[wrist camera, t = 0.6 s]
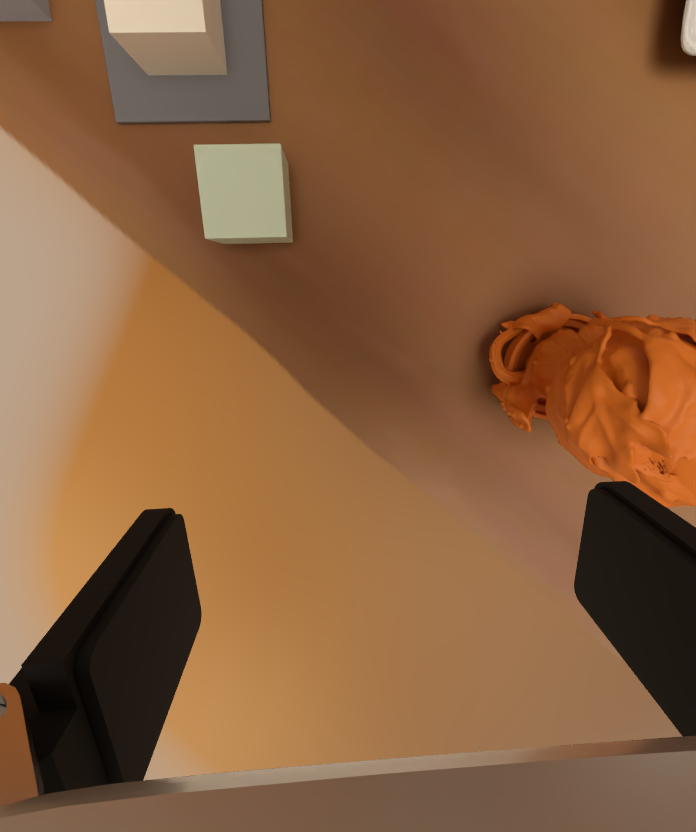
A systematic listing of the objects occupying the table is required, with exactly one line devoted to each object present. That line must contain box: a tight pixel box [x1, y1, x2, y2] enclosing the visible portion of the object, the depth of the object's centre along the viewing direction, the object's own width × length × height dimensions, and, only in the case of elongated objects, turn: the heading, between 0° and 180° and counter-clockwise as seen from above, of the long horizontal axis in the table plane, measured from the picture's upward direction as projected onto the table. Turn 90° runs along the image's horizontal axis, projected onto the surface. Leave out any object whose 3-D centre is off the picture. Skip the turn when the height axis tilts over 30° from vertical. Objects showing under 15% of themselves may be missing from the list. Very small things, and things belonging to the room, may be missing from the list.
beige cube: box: [104, 0, 227, 75], centre depth 24 cm, size 5×5×5 cm
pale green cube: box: [194, 144, 293, 244], centre depth 27 cm, size 5×5×5 cm
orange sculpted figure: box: [489, 302, 696, 507], centre depth 26 cm, size 11×11×18 cm
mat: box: [95, 0, 271, 124], centre depth 26 cm, size 10×10×1 cm
